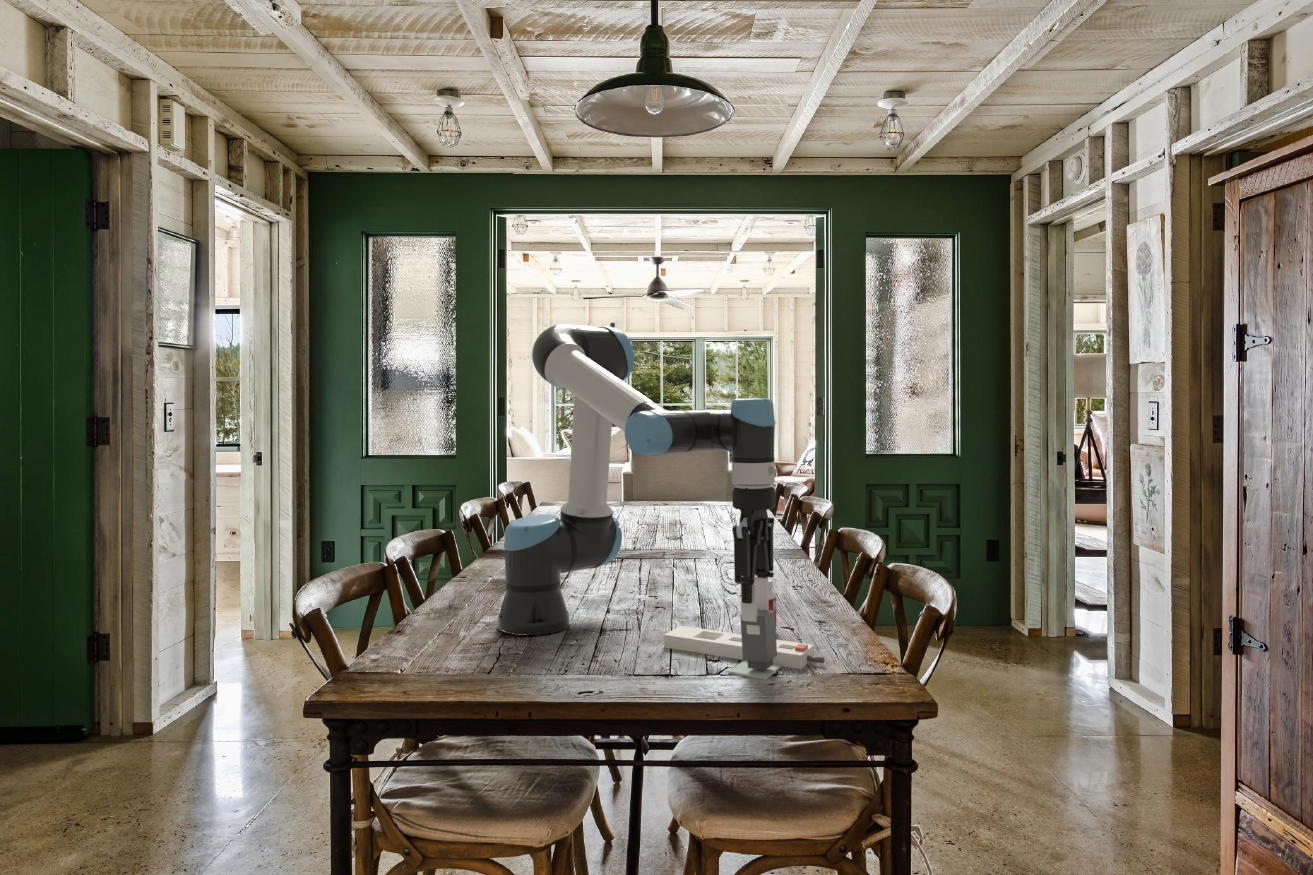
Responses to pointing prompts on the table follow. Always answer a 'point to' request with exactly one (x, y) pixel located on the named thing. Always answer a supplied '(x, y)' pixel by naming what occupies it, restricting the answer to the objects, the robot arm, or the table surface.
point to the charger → (759, 640)
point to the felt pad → (753, 671)
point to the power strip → (736, 646)
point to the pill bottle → (772, 597)
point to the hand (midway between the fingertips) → (755, 616)
